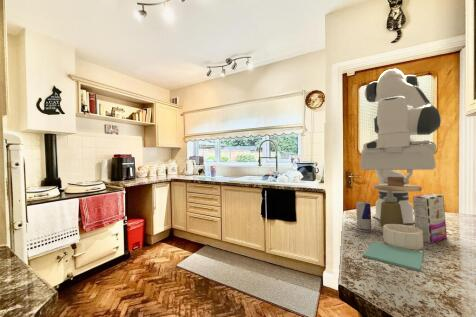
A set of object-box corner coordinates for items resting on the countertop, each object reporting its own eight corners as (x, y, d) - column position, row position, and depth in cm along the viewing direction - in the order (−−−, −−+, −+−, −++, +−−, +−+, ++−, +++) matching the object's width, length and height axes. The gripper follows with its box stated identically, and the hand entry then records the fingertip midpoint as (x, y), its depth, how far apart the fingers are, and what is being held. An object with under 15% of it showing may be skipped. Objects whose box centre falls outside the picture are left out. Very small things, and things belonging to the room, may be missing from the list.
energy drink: (374, 232, 86) (372, 203, 86) (360, 232, 87) (358, 203, 87) (368, 228, 91) (367, 201, 91) (355, 228, 92) (354, 201, 92)
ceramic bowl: (387, 236, 81) (386, 222, 81) (424, 243, 73) (423, 227, 73) (381, 244, 73) (380, 229, 73) (422, 253, 66) (421, 236, 66)
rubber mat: (373, 243, 74) (373, 241, 74) (423, 254, 65) (423, 252, 65) (363, 256, 65) (362, 254, 65) (420, 271, 55) (420, 269, 55)
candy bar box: (430, 234, 81) (428, 193, 82) (447, 238, 77) (444, 194, 77) (414, 239, 77) (412, 195, 77) (431, 244, 72) (428, 197, 73)
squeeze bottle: (402, 236, 80) (399, 190, 81) (377, 231, 86) (375, 189, 87) (406, 231, 86) (403, 188, 86) (383, 227, 92) (381, 187, 92)
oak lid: (377, 186, 79) (377, 175, 79) (423, 188, 70) (422, 176, 70) (369, 189, 70) (368, 177, 70) (420, 192, 60) (419, 178, 61)
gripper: (435, 140, 65) (438, 184, 65) (362, 146, 80) (364, 181, 79) (435, 138, 61) (438, 185, 60) (358, 145, 75) (360, 182, 74)
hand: (395, 183), depth 70 cm, fingers closed on oak lid, 4 cm apart
